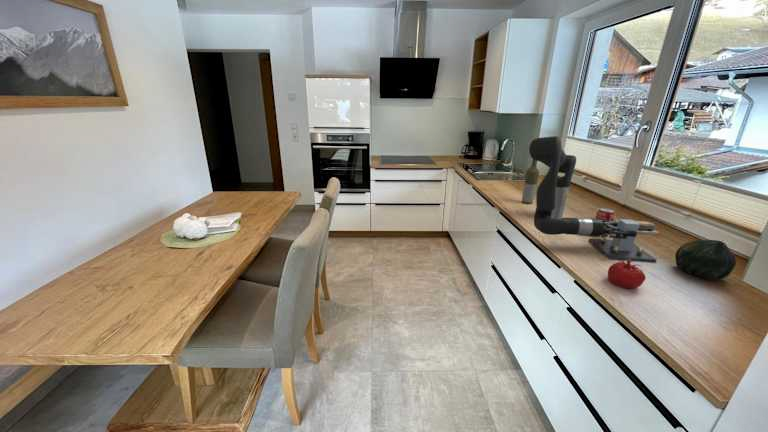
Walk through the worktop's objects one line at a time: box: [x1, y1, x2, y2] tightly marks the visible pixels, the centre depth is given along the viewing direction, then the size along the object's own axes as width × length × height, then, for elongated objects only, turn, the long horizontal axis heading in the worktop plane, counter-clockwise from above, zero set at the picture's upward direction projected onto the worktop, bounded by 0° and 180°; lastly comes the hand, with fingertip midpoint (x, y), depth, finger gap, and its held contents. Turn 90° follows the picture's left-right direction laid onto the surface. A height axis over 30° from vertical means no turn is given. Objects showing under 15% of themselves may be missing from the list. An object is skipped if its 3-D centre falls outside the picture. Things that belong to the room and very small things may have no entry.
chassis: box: [588, 236, 658, 263], centre depth 128 cm, size 17×17×4 cm
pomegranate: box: [607, 259, 647, 289], centre depth 104 cm, size 10×10×9 cm
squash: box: [674, 239, 737, 281], centre depth 110 cm, size 14×15×15 cm
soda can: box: [594, 207, 616, 237], centre depth 144 cm, size 7×7×12 cm
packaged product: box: [613, 218, 660, 236], centre depth 150 cm, size 18×5×10 cm
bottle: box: [521, 159, 540, 205], centre depth 183 cm, size 7×7×30 cm
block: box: [611, 218, 640, 251], centre depth 127 cm, size 5×5×12 cm
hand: (629, 229), depth 126 cm, fingers open, 8 cm apart
